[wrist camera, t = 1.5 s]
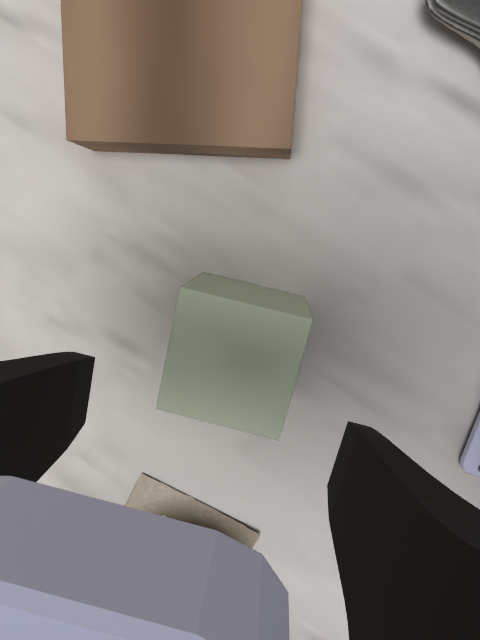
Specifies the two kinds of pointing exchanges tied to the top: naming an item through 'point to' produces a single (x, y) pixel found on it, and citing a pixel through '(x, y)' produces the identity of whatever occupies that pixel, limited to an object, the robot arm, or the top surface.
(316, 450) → the top surface
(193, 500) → the condiment
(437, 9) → the salad plate
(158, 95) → the walnut block
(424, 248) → the top surface
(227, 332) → the sage cube
